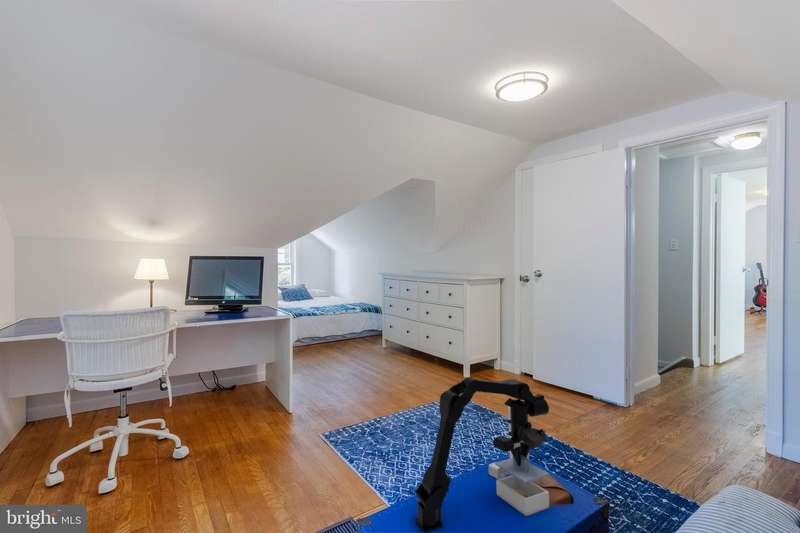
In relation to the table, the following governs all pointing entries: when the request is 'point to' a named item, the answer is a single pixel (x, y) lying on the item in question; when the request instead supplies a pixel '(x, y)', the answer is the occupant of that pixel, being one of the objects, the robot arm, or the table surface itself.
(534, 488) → the tub
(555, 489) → the sunglasses case
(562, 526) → the table surface
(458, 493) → the table surface
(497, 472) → the usb wall charger
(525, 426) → the robot arm
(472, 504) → the table surface
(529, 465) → the lid
